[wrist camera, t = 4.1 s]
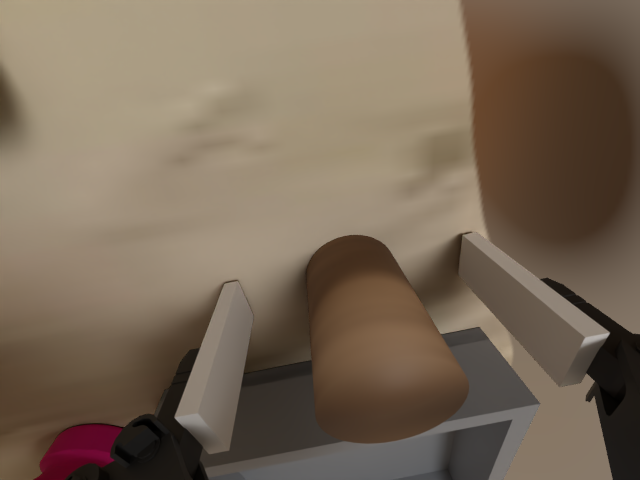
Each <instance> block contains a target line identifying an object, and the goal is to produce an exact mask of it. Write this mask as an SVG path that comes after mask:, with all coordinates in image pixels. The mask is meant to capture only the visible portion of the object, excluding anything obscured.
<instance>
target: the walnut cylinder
mask: <svg viewBox="0 0 640 480" xmlns="http://www.w3.org/2000/svg"><path fill="white" fill-rule="evenodd" d="M306 282H307V297H308V313H309V328H310V343H311V358H312V373H313V389H314V404H315V417H316V421H317V423H318V425H319V427H320V428H321V429H322V430H323V431H324V432H326V433H327V434H328V435H330V436H332V437H334V438H337V439H339V440H343V441H347V442H352V443H362V444H374V443H386V442H392V441H398V440H402V439H406V438H409V437H413V436H416V435H419V434H421V433H424V432H426V431H428V430H430V429H432V428H434V427H436V426H438V425H440V424H441V423H443V422H445V421H446V420H447V419H449V418H450V417H451V416H452V415H454V414H455V413H456V412H457V411H458V410H459V409H460V408H461V406H462V405H463V404H464V402H465V400H466V398H467V396H468V393H469V382H468V379H467V377H466V375H465V373H464V372H463V370H462V368H461V367H460V365H459V363H458V362H457V360H456V359H455V357H454V355H453V354H452V352H451V350H450V349H449V347H448V345H447V344H446V342H445V340H444V339H443V337H442V336H441V334H440V332H439V331H438V329H437V327H436V326H435V324H434V322H433V321H432V319H431V318H430V316H429V314H428V313H427V311H426V309H425V308H424V306H423V304H422V303H421V301H420V299H419V298H418V296H417V295H416V293H415V291H414V290H413V288H412V286H411V285H410V283H409V281H408V280H407V278H406V276H405V275H404V273H403V272H402V270H401V268H400V267H399V265H398V263H397V262H396V260H395V258H394V257H393V255H392V254H391V252H390V250H389V249H388V248H387V247H386V246H385V245H384V244H383V243H381V242H380V241H378V240H376V239H374V238H371V237H368V236H363V235H349V236H343V237H340V238H337V239H334V240H332V241H330V242H328V243H326V244H325V245H323V246H322V247H321V248H320V249H319V250H317V252H316V253H315V254H314V255H313V257H312V258H311V260H310V262H309V264H308V267H307V271H306Z"/></svg>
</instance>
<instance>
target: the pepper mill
mask: <svg viewBox="0 0 640 480" xmlns="http://www.w3.org/2000/svg"><path fill="white" fill-rule="evenodd" d="M122 429H123V428H120V427H116V426H110V425H101V424H89V425H80V426H75V427H72V428H69V429H67V430H65V431H64V432H62V433H61V434H59V435H58V437H57V438H56V439H55V441H54V442H53V444H52V445H51V447H50V448H49V450H48V451H47V452H46V454H45V455H44V457H43V458H42V460H41V461H40V470H41V472H42V474H41V475H40V476H39V477H37V478H35V479H34V480H64V479H65V478H66V477H67V476H68V475H69V474H71V473H72V472H73V471H75V470H76V469H77V468H79V467H81V466H83V465H85V464H88V463H95V464H97V465H98V466H100V467H101V468H102V467H104V466H105V465H107V464H109V463H111V462H113V461H115V460H113V459H112V458H111V457H110V452H111V447H112V445H113V443H114V441H115V439H116V437H117V436H118V435H119V433H120V432H121V431H122Z"/></svg>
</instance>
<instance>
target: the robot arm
mask: <svg viewBox="0 0 640 480" xmlns="http://www.w3.org/2000/svg"><path fill="white" fill-rule="evenodd" d="M458 276H459V277H460V278H461V279H462V280H463V281H464V282H465V283H466V284H467V285H468V287H469V288H470V289H471V290H472V291H473V292H474V293H475V294H476V295H477V297H478V298H479V299H480V300H481V301H482V302H483V303H484V304H485V305H486V306H487V308H488V309H489V310H490V311H491V312H492V313H493V314H494V315H495V316H496V318H497V319H498V320H499V321H500V322H501V323H502V324H503V325H504V326H505V327H506V329H507V330H508V331H509V332H510V333H511V334H512V335H513V336H514V337H515V339H516V340H517V341H518V342H519V343H520V344H521V345H522V346H523V347H524V348H525V350H526V351H527V352H528V353H529V354H530V355H531V356H532V357H533V358H534V360H535V361H536V362H537V363H538V364H539V365H540V366H541V367H542V368H543V369H544V371H545V372H546V373H547V374H548V375H549V376H550V377H551V378H552V379H553V380H554V382H555V383H556V384H557V385H558V386H559V387H563V386H568V385H573V384H578V383H581V382H582V380H583V378H584V376H585V375H586V373H587V374H588V375H589V376H590V377H591V378H592V379H593V380H595V382H594V384H593V386H592V387H591V388H590V390H589V392H588V393H587V395H586V401H588V402H590V401H591V400H592V398H593V396H595V400H596V405H597V409H598V414H599V418H600V423H601V428H602V432H603V437H604V441H605V445H606V450H607V455H608V459H609V464H610V468H611V473H612V477H613V480H640V334H632V333H631V332H629V331H628V330H626V329H625V328H623V327H622V326H621V325H619V324H617V323H616V322H615V321H613V320H612V319H611V318H609V317H608V316H606V315H605V314H603V313H602V312H601V311H599V310H598V309H596V308H595V307H594V306H592V305H591V304H589V303H586V301H585V300H584V299H582V298H581V297H580V296H578V295H577V296H576V294H575V293H574V292H573V291H571V290H570V289H568V288H567V287H565V286H564V285H563V284H560V283H558V282H556V281H553V280H551V279H549V278H544V279H538V278H537V277H536V276H534V275H533V274H532V273H530V272H529V271H528V270H526V269H525V268H524V267H522V266H521V265H520V264H518V263H517V262H515V261H514V260H513V259H512V258H511V257H509V256H508V255H507V254H505V253H504V252H503V251H501V250H500V249H499V248H497V247H496V246H494V245H493V244H492V243H491V242H489V241H488V240H487V239H485V238H484V237H483V236H481V235H480V234H479V233H477V232H474V233H470V234H465V235H463V236H462V244H461V253H460V262H459V271H458ZM253 319H254V315H253V313H252V311H251V308H250V306H249V304H248V302H247V300H246V297H245V295H244V293H243V291H242V289H241V286H240V284H239V282H238V281H235V282H230V283H225V284H224V286H223V289H222V291H221V294H220V297H219V299H218V302H217V305H216V307H215V310H214V313H213V315H212V318H211V321H210V323H209V326H208V329H207V331H206V334H205V337H204V339H203V342H202V345H201V347H200V348H197V349H192V350H189V352H188V353H187V354H186V356H185V357H184V358H183V359H182V361H181V362H180V365H179V367H178V369H177V372H176V376H174V379H173V381H172V383H171V384H172V385H171V386H170V388H169V390H168V393H167V395H166V397H165V400H164V402H163V404H162V407H161V409H160V411H159V414H158V416H157V417H156V416H155V415H151V414H145V415H141V416H139V417H137V418H136V419H134V420H132V421H131V422H130V423H129V424H128V425H127V426H126V427H124V428H123V429H122V431H121V432H120V433H119V435H118V436H117V437H116V439H115V441H114V443H113V445H112V447H111V452H110V457H111V458H112V459H113V460H115V461H113V462H111V463H109V464H107V465H105V466H104V467H102V468H101V467H100V466H98V465H97V464H95V463H88V464H85V465H83V466H81V467H79V468H77V469H76V470H75V471H73V472H72V473H71V474H69V475H68V476H67V477H66V478H65V479H64V480H209V479H208V476H207V474H206V471H205V469H204V466H203V464H202V462H201V461H200V457H201V453H202V449H203V448H204V449H205V451H206V452H207V453H208V454H214V453H219V452H224V451H229V449H230V443H231V438H232V432H233V427H234V421H235V416H236V411H237V405H238V400H239V394H240V389H241V384H242V378H243V373H244V367H245V362H246V356H247V351H248V346H249V340H250V335H251V329H252V324H253Z"/></svg>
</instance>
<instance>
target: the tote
mask: <svg viewBox="0 0 640 480" xmlns="http://www.w3.org/2000/svg"><path fill="white" fill-rule="evenodd" d="M441 336H442V337H443V339H444V340H445V342H446V344H447V345H448V347H449V349H450V350H451V352H452V354H453V355H454V357H455V359H456V360H457V362H458V363H459V365H460V367H461V368H462V370H463V372H464V373H465V375H466V377H467V379H468V382H469V393H468V396H467V398H466V400H465V402H464V404H463V405H462V406H461V408H460V409H459V410H458V411H457V412H456V413H455V414H454V415H452V416H451V417H450V418H449V419H447V420H446V421H445V422H443V423H441V424H440V425H438V426H436V427H434V428H432V429H430V430H428V431H426V432H424V433H421V434H419V435H416V436H413V437H409V438H406V439H402V440H398V441H392V442H386V443H374V444H362V443H352V442H347V441H343V440H339V439H337V438H334V437H332V436H330V435H328V434H327V433H326V432H324V431H323V430H322V429H321V428H320V427H319V425H318V423H317V421H316V417H315V404H314V389H313V373H312V361H307V362H302V363H297V364H292V365H287V366H282V367H277V368H272V369H267V370H262V371H257V372H252V373H247V374H243V378H242V384H241V389H240V394H239V400H238V405H237V411H236V416H235V421H234V427H233V432H232V438H231V443H230V449H229V451H224V452H219V453H214V454H208V453H207V452H206V451H205V449H204V448H203V449H202V453H201V457H200V461H201V462H202V464H203V466H204V469H205V471H206V474H207V476H208V479H209V480H503V479H504V477H505V475H506V473H507V471H508V469H509V467H510V465H511V463H512V461H513V458H514V457H515V454H516V452H517V450H518V448H519V446H520V444H521V442H522V440H523V438H524V436H525V434H526V432H527V430H528V428H529V426H530V424H531V422H532V420H533V418H534V416H535V414H536V411H537V410H538V407H539V405H540V403H539V401H538V400H537V399H536V398H535V396H534V395H533V394H532V392H531V391H530V390H529V389H528V387H527V386H526V385H525V384H524V382H523V381H522V380H521V379H520V377H519V376H518V375H517V374H516V372H515V371H514V370H513V369H512V367H511V366H510V365H509V364H508V362H507V361H506V360H505V359H504V357H503V356H502V355H501V353H500V352H499V351H498V350H497V348H496V347H495V346H494V345H493V343H492V342H491V341H490V340H489V338H488V337H487V336H486V335H485V333H484V332H483V331H482V330H481V328H480V327H478V328H473V329H468V330H463V331H458V332H453V333H448V334H443V335H441ZM168 390H169V389H166V390H164V393H163V395H162V397H161V400H160V402H159V404H158V406H157V409H156V411H155V413H154V415H155V416H156V417H157V416H158V414H159V411H160V409H161V407H162V404H163V402H164V400H165V397H166V395H167V393H168Z"/></svg>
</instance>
